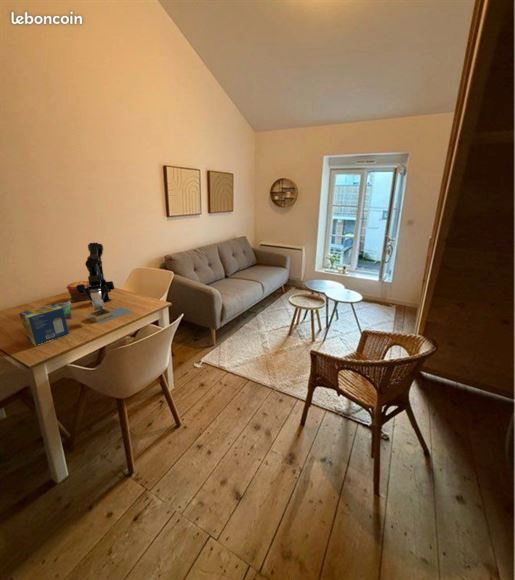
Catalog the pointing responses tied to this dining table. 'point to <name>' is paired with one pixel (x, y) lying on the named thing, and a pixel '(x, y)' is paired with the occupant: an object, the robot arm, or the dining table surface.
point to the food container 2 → (74, 292)
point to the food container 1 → (65, 308)
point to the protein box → (44, 323)
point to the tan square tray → (97, 318)
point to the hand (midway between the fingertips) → (96, 300)
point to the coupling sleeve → (96, 299)
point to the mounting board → (116, 314)
